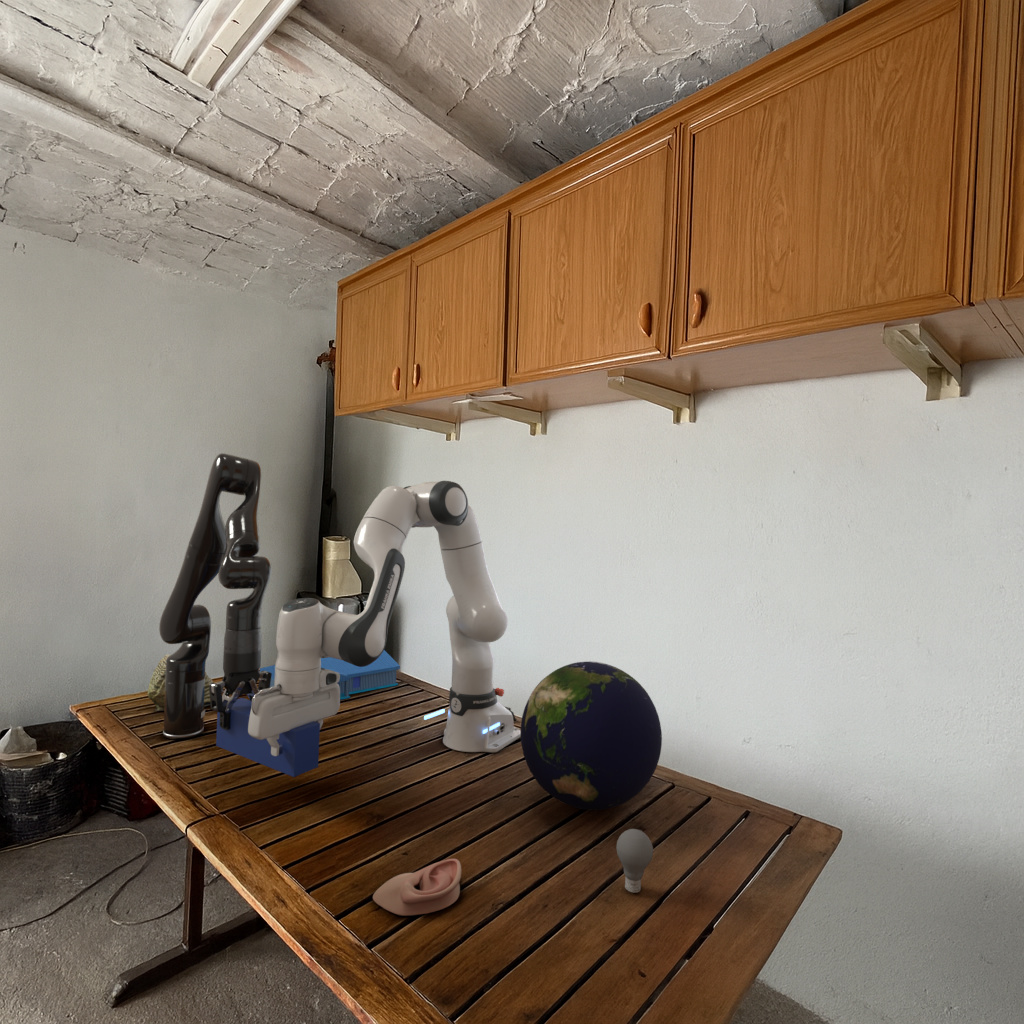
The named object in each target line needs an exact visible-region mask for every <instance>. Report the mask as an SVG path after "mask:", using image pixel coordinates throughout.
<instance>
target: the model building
mask: <svg viewBox="0 0 1024 1024" xmlns="http://www.w3.org/2000/svg"><path fill="white" fill-rule="evenodd" d="M321 668H324V669H328V670H332V671H335V672H338V673H339V674H340V680H339V682H338V683H337V684H338V685H339V687H340V701H341V700H346V699H347V700H348V699H350V698H351V695H353V694H359V693H364V692H365V693H366V692H369V691H373V690H381V689H385V688H390V687H391V688H392V687H395V686H399V683H398V682H397V670H400V669H401V665H400V664H399V663H398V662H397V661H396V660H395V659H394V658H393V657H392V656H391V654H389V653H388V652H387V651H386V650H385V649H384V651H383V652H382V654H381V655H380V656H379V657H378V658H377V659H376V660H375V661H374V662H373V663H371V664H370V665H367V666H364V667H358V666H355V665H353V664H350V663H348V662H345V661H344V660H340V659H336V658H332V657H329V656H326V657H322V658H321ZM261 671H267V672H270V673H271V674H272V676H271V682H270V687H272V686H274V681H275V664H272V665H268V666H264V667H263V666H262V667H260V669H259V672H261Z"/></svg>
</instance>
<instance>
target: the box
mask: <svg viewBox="0 0 1024 1024" xmlns="http://www.w3.org/2000/svg"><path fill="white" fill-rule="evenodd" d="M251 707H252V701H250V699H247V698H244V697H240V698H237V701H236V702H235V703H234V704H233V706H232V708H231V711H230V712H231V721H230V729H229V730H224V729H222V728H221V727H220V725H219V723H220V712H217V711H216V712H217V713H216V715H217V717H216V741H215V746H216V747H218V748H220V749H222V750H225V751H228V752H230V753H233V754H236V755H238V756H240V757H243V758H245V759H248V760H250V761H253V762H255V763H257V764H260V765H263V766H265V767H267V768H269V769H273V770H275V771H277V772H280V773H282V774H284V775H288V776H290V777H292V778H296V777H298V776H300V775H302V774H305V773H308V772H309V771H312V770H314V769H316V768H319V755H320V754H319V753H320V735H321V734H320V732H321V729H320V723H318V722H315V721H313V722H310V723H307V724H305V725H302V726H299V727H296V728H293V729H290V730H289V731H286V732H284V733H281V734H279V739H277V742H278V744H280V745H283V750H282V751H283V753H282V754H281V755H278V756H273V755H272V754H271V746H270V744H269V742H268V741H267V739H263V740H259V739H256V738H253V737H251V736H250V734H249V733H248V724H249V717H250V712H251Z"/></svg>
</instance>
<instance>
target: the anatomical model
mask: <svg viewBox="0 0 1024 1024" xmlns="http://www.w3.org/2000/svg"><path fill="white" fill-rule="evenodd" d="M461 879H462V864H461V862H460V860H459V859H457V858H448V859H447V858H446V859H444V860H443V859H442V860H440V861H437V862H435V863H432V864H430V865H428V866H425V867H423V868H421V869H419V870H417V871H414V872H404V873H401V874H397V875H395V876H393V877H392V878H390V879H388V880H387V881H385V882H384V883H383V884H382V885H381V886H379V887H378V888H377V890H376V891H375V892H374V893H373V895H372V900H373V902H374V903H376V904H377V905H378V906H380V907H381V908H382V909H384V910H386V911H388V912H390V913H392V914H394V915H397V916H403V917H404V916H405V917H407V916H417V915H423V914H430V913H435V912H437V911H441V910H444V909H445V908H448V907H450V906H451V905H452V904H455V902H456V901H457V900H458V899H459V897H460V893H461V885H460V881H461Z"/></svg>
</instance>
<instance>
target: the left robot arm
mask: <svg viewBox="0 0 1024 1024" xmlns="http://www.w3.org/2000/svg"><path fill="white" fill-rule="evenodd" d="M261 488H262V469H261V465H260V463H259V462H257V461H255V460H253V459H249V458H246V457H241V456H239V455H233V454H229V453H223V452H221V453H219V454H217V455H216V456H215V458H214V460H213V461H212V464H211V467H210V470H209V474H208V479H207V482H206V486H205V489H204V494H203V498H202V502H201V507H200V509H199V512H198V516H197V519H196V522H195V525H194V528H193V530H192V533H191V536H190V538H189V541H188V544H187V547H186V551H185V554H184V559H183V561H182V564H181V567H180V570H179V572H178V576H177V579H176V582H175V583H174V587H173V589H172V591H171V593H170V595H169V598H168V599H167V602H166V604H165V607H164V609H163V611H162V613H161V616H160V619H159V625H158V626H159V627H158V631H159V636H160V638H161V640H162V641H163V642H164V643H166V644H168V645H179V644H181V645H180V647H179V648H178V649H177V650H176V651H174V652H173V653H172V654H169V655H170V656H169V657H168V658H167V660H166V674H165V705H164V710H163V730H162V737H164V738H166V739H169V740H185V739H190V738H191V739H192V738H194V737H197V736H199V735H202V734H203V732H204V730H205V729H204V727H205V725H204V722H205V721H204V718H205V715H206V709H205V706H204V693H205V672H206V664H207V663H206V662H207V659H208V656H209V653H210V646H211V645H210V643H211V633H212V617H211V614H210V612H209V610H208V609H207V607H206V606H205V605H202V604H195V603H196V600H197V599H198V597H199V596H200V594H201V593H202V592H203V591H204V590H205V589H206V587H208V585H210V583H211V582H212V581H213V580H214V579H215V578H216V577H217V576H218V581H219V583H220V584H221V586H222V587H223V588H225V589H226V590H251V589H252V591H251V592H250V593H249V595H247V596H245V597H242V598H241V597H240V598H238V599H233V600H231V601H229V602H228V603H227V605H226V611H225V613H226V614H225V616H226V617H225V632H224V637H223V655H222V656H223V657H222V658H223V659H222V670H223V677H222V679H221V681H218V682H214V683H210V684H209V692H210V703H211V705H210V710H211V711H214V712H220V723H219V725H220V727H221V728H222V729H224V730H229V729H230V721H231V712H230V711H231V708H232V706H233V704H234V703H235V702H236V701H237V699H239V697H242V696H243V695H246V696H247V697H248V700H250V701H252V699H253V697H254V696H255V695H256V694H257V693H258V692H259V690H261V689H267V688H270V682H271V676H272V674H271V673H270V672H267V671H261V672H260V668H261V666H262V665H261V664H262V642H263V641H262V640H263V637H262V636H263V635H262V613H263V612H262V609H263V603H264V600H265V599H264V598H265V595H266V592H267V589H268V587H269V584H270V581H271V578H272V575H273V574H272V573H273V566H272V563H271V561H270V560H269V559H268V558H267V557H265V556H263V555H257V554H258V553H259V552H260V549H261V539H260V530H259V511H260V501H261V490H262V489H261ZM222 492H223V493H228V494H232V495H238V496H243V498H244V499H243V501H242V502H241V503H240V504H239V505H238V506H237V507H236V508H235V509H234V510H233V511H232V512H231V513H230V514H229V516H228V518H227V520H226V522H225V521H224V518H223V516H222V515H223V514H222V512H221V511H222V510H221V506H220V500H221V495H222ZM207 676H208V677H209V675H208V674H207ZM257 683H258V686H257ZM258 696H259V695H258Z"/></svg>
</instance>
